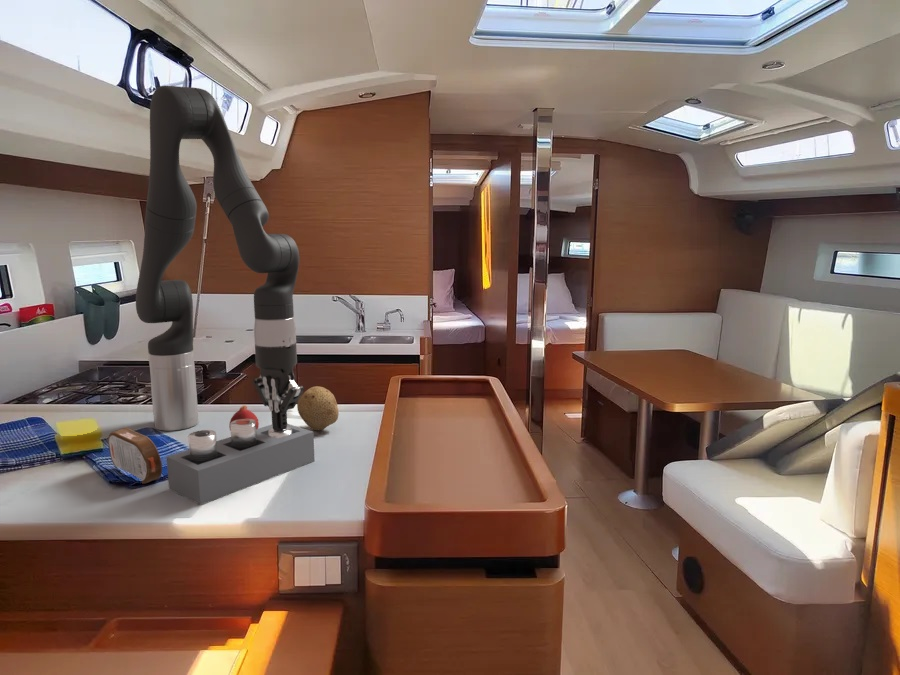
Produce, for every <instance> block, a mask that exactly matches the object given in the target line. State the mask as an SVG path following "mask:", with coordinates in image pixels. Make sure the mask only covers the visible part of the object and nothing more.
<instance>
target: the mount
mask: <svg viewBox="0 0 900 675" xmlns="http://www.w3.org/2000/svg"><path fill="white" fill-rule="evenodd" d="M287 427H290V428H291V429H292V434H290V435H287V436H284V437H281V438H278V439H277V438H274V437H271V436H269V434H268V431H269V430H270V429H272V428H273V425H272V424H269V425H266V426H262V427H260V428H259V427H258V429H256V437H257V443H256V444H255V445H253V446H250V447H245V448H236V447H233V446H232V445H231V436H230V437H226V438H223V439H219V440H216V441H217V456H216V457H215V458H213V459H210V460H206V461H193V460H191V459H190V451H189V449H187V450H183V451H181V452H178V453H174V454H171V455H166V458H165V459H166V465H167V466H166V467H167V468H166V470H167V480H168V481H167V482H168V489H169V490H170V491H172V492H174V493H176V494H177V495H180V496H182V497H183V498H186V499H188V500H190V501H192V502H193V503H195V504H198V505H200V506H202V505H204V504H208V503H209V502H213V501H214V500H218V499H220V498H223V497H226V496H228V495H230V494H233V493H235V492H238V491H241V490H243V489H246V488H248V487H251V486H253V485H257V484H259V483H261V482H264V481H266V480H269V479H272V478H275V477H276V476H280V475H281V474H285V473H287V472H290V471H292V470H295V469H297V468H301V467H304V466H305V465H307V464H311V463H313V462H315V443H314V442H315V441H314V438H315V437H314V436H315V435H314V430H313V431H312V430H309V429H306V428H304V427H303V428H302V427H299V426H296V425H293V424H290V423H287Z"/></svg>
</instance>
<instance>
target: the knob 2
mask: <svg viewBox="0 0 900 675" xmlns="http://www.w3.org/2000/svg"><path fill="white" fill-rule="evenodd" d="M268 434H269V436H271V437H274V438H277V439H278V438H281V437H284V436H287V435H290V434H292V429H291V428H290V427H287V428H286V429H283V430H280V431H277V430H274V429H273V428H272V429H270V430H269V431H268Z"/></svg>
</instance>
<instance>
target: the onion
mask: <svg viewBox="0 0 900 675" xmlns="http://www.w3.org/2000/svg"><path fill="white" fill-rule="evenodd" d="M247 408H248V406H247V405H245V404H244V405H242V406H240V408H239V410H238V411H235V413H234V414H233V415H232V417H231V418H230V421H229V431H230V432H231V429H230V423H231V422H232V421H235V420H239V419H253V420H255V421H256V429H259V427H260V426H259V425H260V423H259V419H258V417H257V416H256V415H255V413H253V412H252V411H251V410H249V409H247Z"/></svg>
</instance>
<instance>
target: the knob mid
mask: <svg viewBox="0 0 900 675" xmlns="http://www.w3.org/2000/svg"><path fill="white" fill-rule="evenodd" d="M229 424H230V427H229V430H230V429H231V431H230V437H231V445H232V446H233V447H236V448H245V447H250V446H253V445H255V444H256V443H257V437H256V421H255V420H253V419H239V420H235V421H232V422H231V423H230V422H229Z"/></svg>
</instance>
